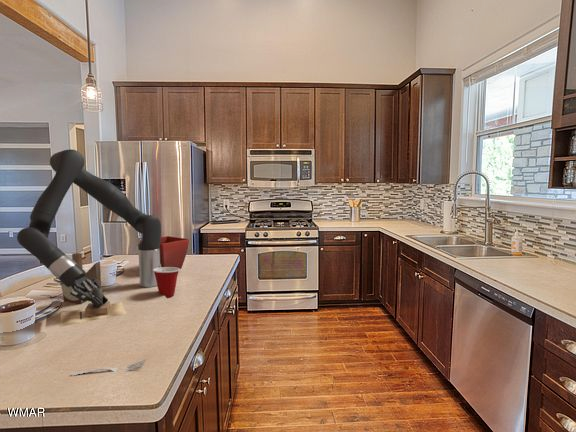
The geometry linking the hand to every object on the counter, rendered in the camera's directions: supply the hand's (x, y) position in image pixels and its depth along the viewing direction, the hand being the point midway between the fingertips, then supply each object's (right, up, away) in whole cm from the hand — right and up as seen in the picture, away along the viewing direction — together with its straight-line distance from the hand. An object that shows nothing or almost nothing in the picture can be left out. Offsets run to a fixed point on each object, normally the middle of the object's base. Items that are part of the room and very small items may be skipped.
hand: (103, 303), depth 123 cm
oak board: (-3, -5, 0) cm, 6 cm away
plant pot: (-2, +2, +68) cm, 68 cm away
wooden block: (-21, -2, +25) cm, 33 cm away
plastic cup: (+15, -3, +23) cm, 28 cm away
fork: (+17, -9, -36) cm, 41 cm away
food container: (-17, -4, +13) cm, 22 cm away
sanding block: (-2, -3, 0) cm, 4 cm away
